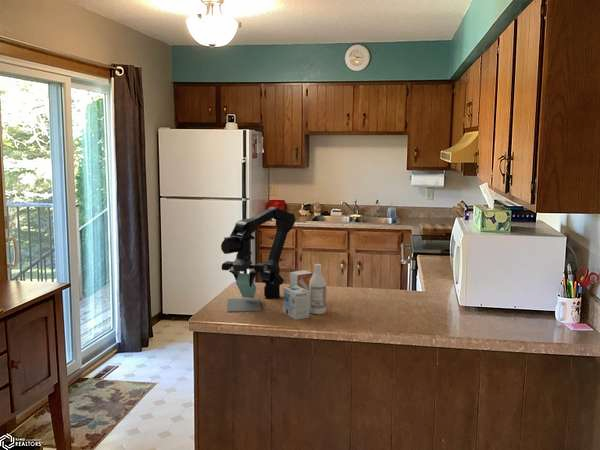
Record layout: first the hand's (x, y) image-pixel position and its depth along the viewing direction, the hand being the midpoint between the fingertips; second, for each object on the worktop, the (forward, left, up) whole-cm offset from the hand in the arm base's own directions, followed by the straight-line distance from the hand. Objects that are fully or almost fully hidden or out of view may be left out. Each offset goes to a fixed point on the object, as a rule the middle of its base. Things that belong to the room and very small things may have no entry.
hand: (244, 286), depth 232 cm
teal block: (-2, -6, -4) cm, 8 cm away
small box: (-25, -3, -8) cm, 26 cm away
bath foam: (-30, +13, -8) cm, 33 cm away
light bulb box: (-21, +16, -8) cm, 27 cm away
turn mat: (0, +1, -8) cm, 8 cm away
